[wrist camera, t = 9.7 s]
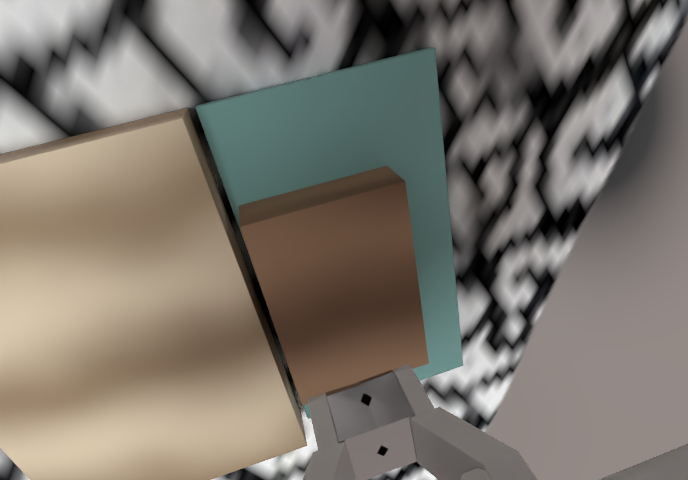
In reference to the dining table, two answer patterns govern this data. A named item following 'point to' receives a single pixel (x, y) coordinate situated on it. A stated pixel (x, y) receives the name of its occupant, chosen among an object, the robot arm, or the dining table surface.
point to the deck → (131, 315)
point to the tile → (339, 278)
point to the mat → (352, 161)
